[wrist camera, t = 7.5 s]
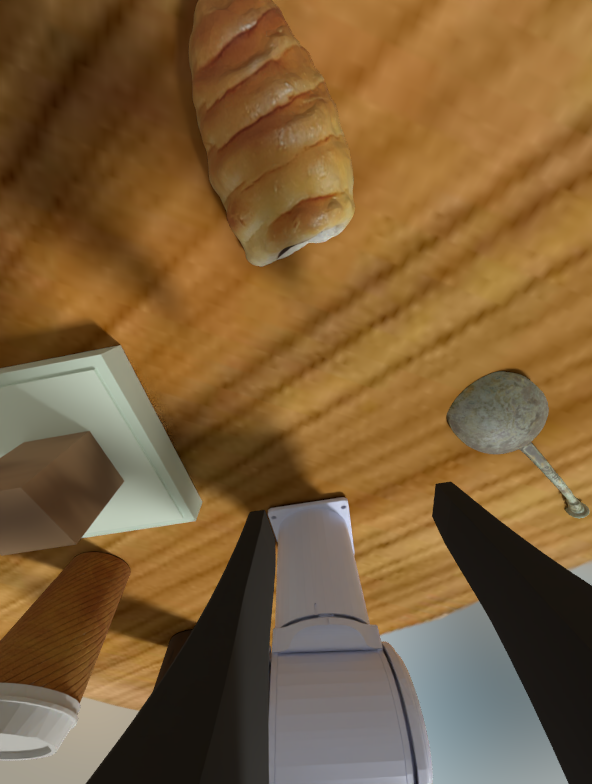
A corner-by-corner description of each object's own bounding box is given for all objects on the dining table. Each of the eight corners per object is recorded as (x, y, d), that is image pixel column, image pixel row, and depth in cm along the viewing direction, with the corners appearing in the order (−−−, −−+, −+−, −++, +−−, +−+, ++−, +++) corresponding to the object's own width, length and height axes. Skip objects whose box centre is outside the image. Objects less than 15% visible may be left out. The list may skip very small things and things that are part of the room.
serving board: (202, 502, 24) (194, 522, 22) (87, 519, 25) (70, 541, 23) (120, 345, 17) (98, 355, 15) (-39, 376, 18) (-81, 389, 16)
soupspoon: (498, 348, 19) (424, 401, 21) (534, 364, 16) (443, 423, 18) (603, 489, 25) (537, 517, 28) (642, 519, 23) (565, 548, 25)
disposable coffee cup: (38, 547, 26) (-131, 736, 16) (124, 538, 26) (13, 724, 16) (83, 592, 31) (-26, 765, 20) (157, 585, 31) (87, 756, 20)
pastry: (161, 71, 11) (109, -13, 8) (294, -21, 10) (299, -161, 7) (257, 276, 15) (249, 278, 12) (359, 224, 14) (383, 211, 11)
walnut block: (124, 481, 20) (76, 544, 15) (65, 490, 20) (1, 555, 15) (89, 430, 17) (21, 487, 13) (23, 442, 18) (-66, 501, 13)
